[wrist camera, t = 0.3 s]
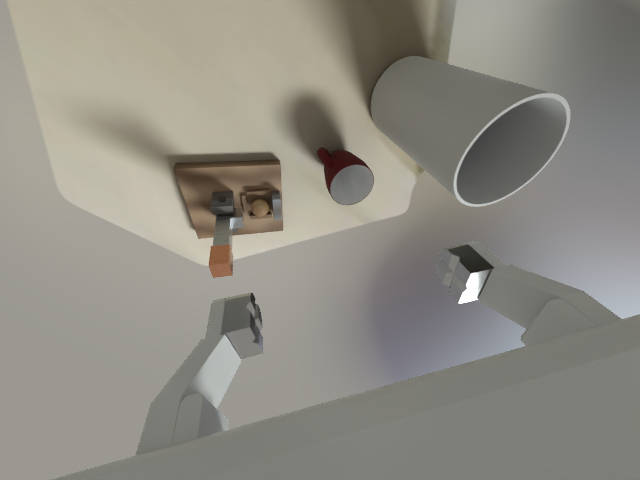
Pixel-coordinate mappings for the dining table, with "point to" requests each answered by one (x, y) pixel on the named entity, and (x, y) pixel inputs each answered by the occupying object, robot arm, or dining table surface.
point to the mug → (346, 176)
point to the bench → (230, 180)
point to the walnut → (259, 207)
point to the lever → (224, 243)
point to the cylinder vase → (469, 126)
